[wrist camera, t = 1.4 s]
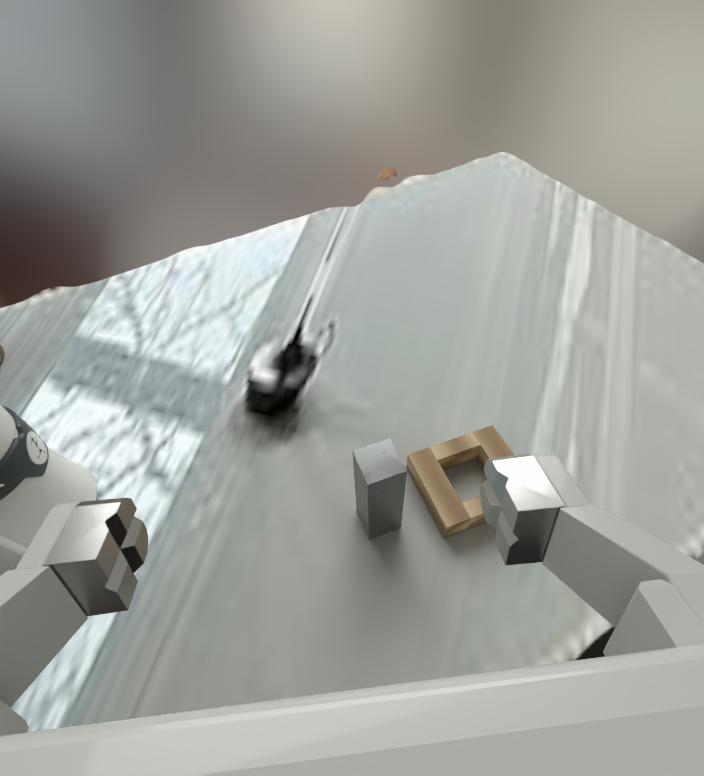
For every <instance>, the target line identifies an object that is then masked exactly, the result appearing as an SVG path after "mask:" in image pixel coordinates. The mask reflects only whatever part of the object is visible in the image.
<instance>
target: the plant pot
mask: <svg viewBox="0 0 704 776" xmlns="http://www.w3.org/2000/svg"><path fill="white" fill-rule="evenodd" d="M3 356H4V351H3V348H2V346H1V345H0V364H1V362H2V359H3Z"/></svg>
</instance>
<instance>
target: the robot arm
mask: <svg viewBox="0 0 704 776" xmlns="http://www.w3.org/2000/svg"><path fill="white" fill-rule="evenodd" d="M484 473H485V475H486V477H487V479H486V480H485V481H484V482H483V483H482V484H481V492H480V498H481V507H482V510H483V514H484V517H485V519H486V522H487V524H488V525H490V526H491V527H492V528H494V529H495V530H496V534H495V543H496V545H497V547H498V550H499V552H500V554H501V556H502V559H503V561H504V563H505V565H515V564H526V563H537V562H543V563H542V564H543V565H544V566H545V567H547V568H548V569H549V570H550V571H551V572H552V573H553V574H555V575H556V576H557V577H558V578H559V579H560V580H561V581H563V582H564V583H565V584H566V585H567V586H568V587H569V588H571V589H572V590H573V591H574V592H575V593H576V594H577V595H579V596H580V597H581V598H582V599H583V600H584V601H585V602H587V603H588V604H589V605H590V606H591V607H592V608H593V609H595V610H596V611H597V612H598V613H599V614H600V615H601V616H603V617H604V618H605V619H606V620H607V621H608V622H609V623H611V624H612V625H613V626H614V627H615V630H614V632H613V634H612V636H611V638H610V639H609V641H608V643H607V645H606V647H605V649H604V652H603V653H604V655H605V657H600V658H592V659H584V660H576V661H569V662H561V663H553V664H546V665H538V666H530V667H523V668H515V669H507V670H500V671H492V672H485V673H477V674H469V675H462V676H454V677H446V678H439V679H431V680H423V681H416V682H408V683H400V684H393V685H385V686H378V687H370V688H362V689H355V690H347V691H339V692H332V693H324V694H316V695H309V696H301V697H294V698H286V699H278V700H271V701H263V702H256V703H248V704H240V705H233V706H225V707H218V708H210V709H202V710H195V711H187V712H180V713H172V714H164V715H157V716H149V717H142V718H134V719H126V720H119V721H111V722H104V723H96V724H88V725H81V726H73V727H66V728H58V729H50V730H43V731H35V732H28V733H27V731H28V728H29V727H28V725H27V722H26V720H24V719H23V718H22V717H21V716H20V715H18V714H17V713H16V712H15V711H14V710H12V709H11V708H10V707H11V706H12V705H13V704H14V703H15V702H16V701H17V699H18V698H19V697H20V696H21V695H22V694H23V692H24V691H25V690H26V689H27V688H28V687H29V686H30V684H31V683H32V682H33V681H34V680H35V679H36V678H37V676H38V675H39V674H40V673H41V672H42V671H43V669H44V668H45V667H46V666H47V665H48V664H49V663H50V661H51V660H52V659H53V658H54V657H55V656H56V655H57V653H58V652H59V651H60V650H61V649H62V648H63V646H64V645H65V644H66V643H67V642H68V641H69V640H70V638H71V637H72V636H73V635H74V634H75V633H76V631H77V630H78V629H79V628H80V627H81V626H82V625H83V623H84V622H85V621H86V620H87V619H88V617H87V616H92V615H99V614H106V613H113V612H120V611H126V610H128V609H129V606H130V603H131V600H132V597H133V594H134V591H135V588H136V585H137V582H138V581H137V579H136V577H135V575H134V572H135V571H136V570H137V569H138V568H139V567H140V566H141V565H142V564H143V563H144V561H145V557H146V554H147V549H148V534H147V529H146V527H145V525H144V523H143V521H141V520H139V519H138V518H136V517H134V514H135V511H136V509H137V508H136V507H135V505H134V503H133V501H132V499H130V498H118V499H106V500H96V497H97V486H96V481H95V478H94V476H93V475H92V473H91V472H90V471H89V470H88V469H87V468H86V467H84V466H83V465H81V464H79V463H76V462H74V461H71V460H69V459H67V458H65V457H64V456H62V455H60V454H58V453H57V452H55V451H54V450H52V449H51V448H49V447H48V446H46V444H45V443H44V442H43V440H42V439H41V438H40V437H39V436H38V434H37V433H36V432H35V431H34V430H33V429H32V428H31V427H30V426H29V425H28V424H27V423H26V422H25V421H24V420H22V419H21V418H20V417H19V416H18V415H17V414H16V413H15V412H13V411H12V410H11V409H9V408H7V407H4V406H1V405H0V776H704V565H703V564H701V563H699V562H698V561H696V560H694V559H692V558H691V557H689V556H687V555H685V554H684V553H682V552H680V551H679V550H677V549H675V548H673V547H672V546H670V545H668V544H666V543H665V542H663V541H661V540H659V539H658V538H656V537H654V536H652V535H651V534H649V533H647V532H646V531H644V530H642V529H640V528H639V527H637V526H635V525H633V524H632V523H630V522H628V521H626V520H625V519H623V518H621V517H620V516H618V515H616V514H614V513H613V512H611V511H609V510H607V509H606V508H604V507H602V506H600V505H599V504H590V502H589V501H588V499H587V498H586V497H585V495H584V494H583V492H582V491H581V490H580V488H579V487H578V485H577V484H576V482H575V481H574V480H573V478H572V477H571V475H570V474H569V473H568V471H567V470H566V468H565V467H564V466H563V464H562V463H561V461H560V460H559V458H558V457H557V456H556V454H554V453H553V452H542V453H533V454H529V455H528V454H525V455H516V456H508V457H499V458H491V459H487V461H486V462H485V466H484Z"/></svg>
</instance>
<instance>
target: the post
mask: <svg viewBox="0 0 704 776" xmlns="http://www.w3.org/2000/svg"><path fill="white" fill-rule="evenodd" d="M353 463H354V478H355V492H356V506H357V511H358V513H359V516H360V518H361V521H362V523H363V526H364V528H365V531H366V533H367V536H368V538H369V539H371V538H373V537H376V536H379V535H381V534H384V533H387V532H389V531H392V530H394V529H397V528H400V527H401V520H402V510H403V501H404V492H405V483H406V474H407V470H406V468H405V466H404V465H403V463H402V461H401V459H400V457H399V455H398V453H397V451H396V449H395V447H394V445H393V443H392V441H391V439H390V438H389V439H386V440H383V441H380V442H377V443H374V444H371V445H368V446H365V447H362V448H360V449H357V450H354V451H353Z"/></svg>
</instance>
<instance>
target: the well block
mask: <svg viewBox="0 0 704 776" xmlns="http://www.w3.org/2000/svg"><path fill="white" fill-rule="evenodd" d="M508 456H514V454H513V453H512V451H511V450H510V449H509V447H508V446H507V444H506V443H505V442H504V440H503V439H502V438H501V436H500V435H499V433H498V432H497V431H496V429H495V428H494V426H493V425H492V426H489V427H487V428H484V429H481V430H478V431H475V432H472V433H469V434H466V435H464V436H461V437H458V438H455V439H452V440H449V441H446V442H443V443H441V444H438V445H435V446H432V447H429V448H426V449H423V450H420V451H417V452H415V453H412V454H409V455H408V458H407V469H408V471H409V473H410V475H411V477H412V479H413V481H414V483H415V485H416V486H417V488H418V490H419V492H420V494H421V496H422V498H423V500H424V502H425V504H426V506H427V508H428V510H429V511H430V513H431V515H432V517H433V519H434V521H435V523H436V525H437V527H438V529H439V531H440V533H441V535H442V537H443V538H446V537H448V536H451V535H453V534H456V533H458V532H461V531H463V530H466V529H468V528H471V527H473V526H476V525H478V524H481V523H484V522H486V519H485V517H484V514H483V510H482V507H481V498H480V496H478V497H475V498H473V499H470V500H467V501H465V502H461V500H460V498H459V497H458V495H457V493H456V492H455V490H454V488H453V486H452V485H451V483H450V481H449V479H448V478H447V476H446V474H445V473H444V471H443V469H446V468H449V467H451V466H454V465H457V464H460V463H462V462H465V461H468V460H471V459H474V458H477V459H478V461H479V463H480V464H481V466H482V467H483V469H484V466H485V462H486V461H487V459H491V458H499V457H508Z"/></svg>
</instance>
